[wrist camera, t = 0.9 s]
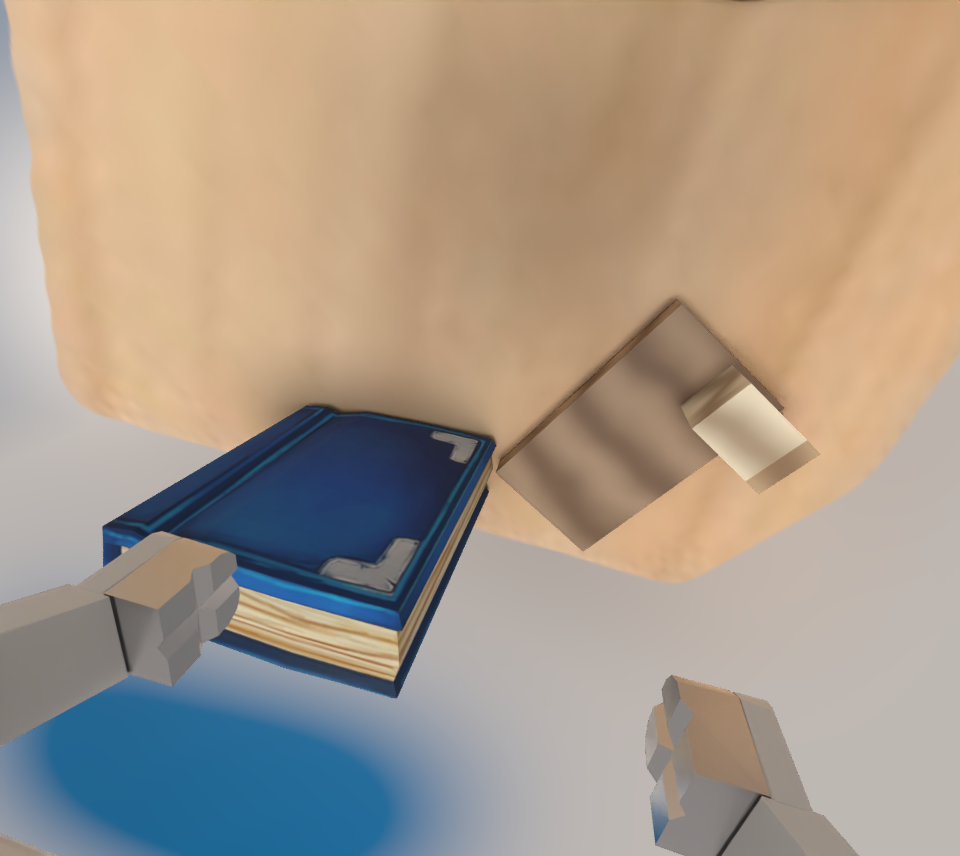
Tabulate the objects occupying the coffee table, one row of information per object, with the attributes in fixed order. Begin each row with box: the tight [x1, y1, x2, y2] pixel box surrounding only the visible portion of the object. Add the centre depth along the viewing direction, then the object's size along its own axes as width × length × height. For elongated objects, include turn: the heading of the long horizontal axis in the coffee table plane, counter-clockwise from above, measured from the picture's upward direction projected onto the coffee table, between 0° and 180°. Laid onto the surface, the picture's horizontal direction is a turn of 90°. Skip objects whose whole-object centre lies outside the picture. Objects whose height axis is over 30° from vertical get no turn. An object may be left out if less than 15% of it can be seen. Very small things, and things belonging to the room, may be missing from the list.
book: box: [103, 406, 496, 698], centre depth 39 cm, size 22×7×25 cm, turn 83°
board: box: [496, 300, 784, 551], centre depth 43 cm, size 22×12×2 cm, turn 139°
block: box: [681, 365, 820, 494], centre depth 38 cm, size 5×8×7 cm, turn 49°
